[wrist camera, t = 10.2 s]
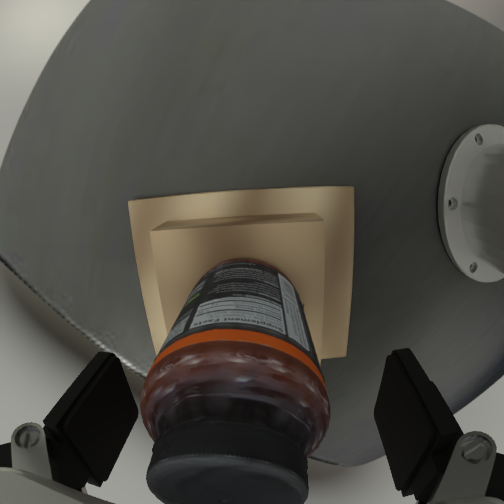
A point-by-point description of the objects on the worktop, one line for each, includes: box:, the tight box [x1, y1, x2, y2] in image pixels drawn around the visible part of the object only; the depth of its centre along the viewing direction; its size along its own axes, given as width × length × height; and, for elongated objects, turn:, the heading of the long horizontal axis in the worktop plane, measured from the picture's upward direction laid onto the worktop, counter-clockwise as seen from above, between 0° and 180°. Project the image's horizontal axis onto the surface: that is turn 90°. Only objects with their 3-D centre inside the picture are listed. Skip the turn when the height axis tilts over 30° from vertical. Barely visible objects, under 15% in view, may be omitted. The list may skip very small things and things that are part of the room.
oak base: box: [128, 186, 354, 364], centre depth 18 cm, size 14×12×4 cm
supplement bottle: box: [140, 259, 330, 504], centre depth 11 cm, size 6×6×11 cm
